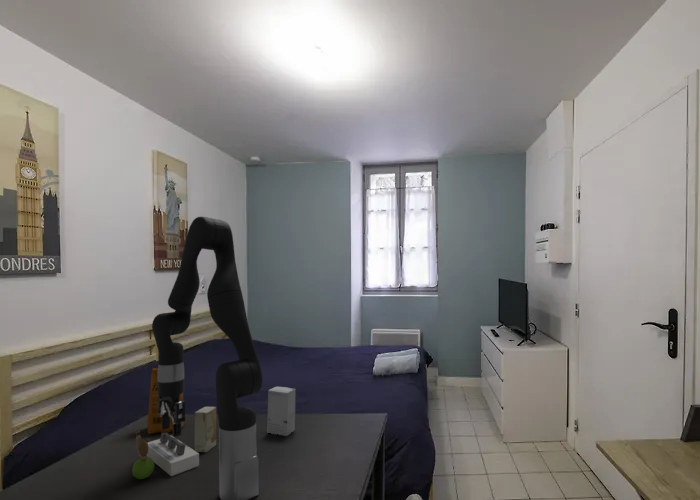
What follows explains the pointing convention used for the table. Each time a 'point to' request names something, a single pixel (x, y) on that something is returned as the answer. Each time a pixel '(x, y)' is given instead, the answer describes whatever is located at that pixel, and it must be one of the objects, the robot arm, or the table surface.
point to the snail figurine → (142, 460)
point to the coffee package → (153, 414)
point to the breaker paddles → (172, 443)
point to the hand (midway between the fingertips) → (171, 432)
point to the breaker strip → (172, 457)
